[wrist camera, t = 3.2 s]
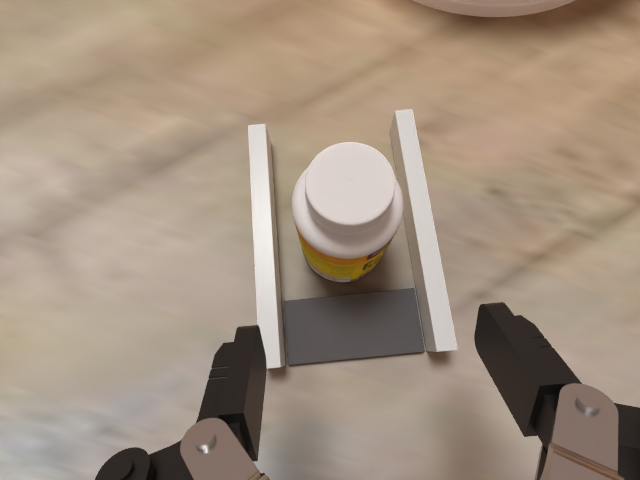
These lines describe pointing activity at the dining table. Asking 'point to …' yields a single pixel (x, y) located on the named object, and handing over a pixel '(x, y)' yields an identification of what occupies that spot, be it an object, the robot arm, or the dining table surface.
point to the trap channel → (355, 309)
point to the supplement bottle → (346, 210)
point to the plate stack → (493, 6)
